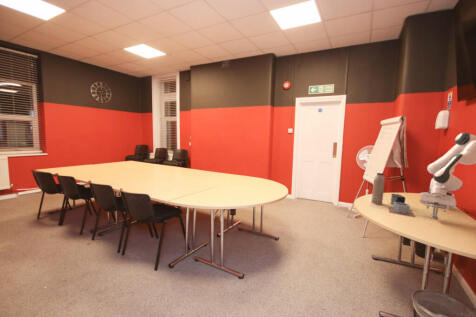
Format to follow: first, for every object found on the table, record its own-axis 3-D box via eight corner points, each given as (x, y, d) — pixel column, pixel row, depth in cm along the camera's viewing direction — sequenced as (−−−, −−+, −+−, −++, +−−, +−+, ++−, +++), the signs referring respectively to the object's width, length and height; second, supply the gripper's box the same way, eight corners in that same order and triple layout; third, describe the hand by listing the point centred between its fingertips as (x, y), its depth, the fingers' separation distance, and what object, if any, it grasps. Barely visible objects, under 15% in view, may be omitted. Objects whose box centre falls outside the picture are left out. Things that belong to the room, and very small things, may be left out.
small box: (404, 209, 185) (406, 197, 184) (395, 208, 186) (397, 196, 185) (398, 205, 195) (399, 194, 194) (389, 205, 197) (391, 193, 195)
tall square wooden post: (430, 219, 164) (433, 202, 162) (430, 218, 167) (433, 201, 165) (437, 221, 161) (440, 203, 160) (437, 219, 164) (440, 202, 163)
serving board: (387, 207, 188) (387, 206, 188) (411, 211, 180) (411, 210, 180) (389, 214, 171) (389, 212, 171) (415, 219, 163) (415, 217, 163)
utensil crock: (392, 208, 182) (393, 201, 182) (407, 210, 177) (408, 203, 177) (393, 211, 174) (394, 204, 173) (409, 214, 169) (410, 206, 168)
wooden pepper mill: (370, 202, 201) (373, 172, 198) (380, 204, 198) (384, 173, 195) (372, 205, 193) (376, 173, 190) (383, 206, 191) (386, 174, 188)
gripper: (420, 189, 174) (418, 204, 168) (457, 194, 160) (455, 211, 154) (420, 193, 178) (417, 208, 171) (456, 199, 164) (454, 215, 158)
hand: (436, 209), depth 163 cm, fingers open, 8 cm apart
